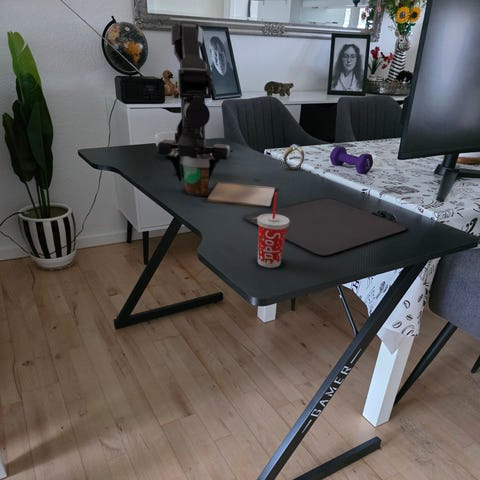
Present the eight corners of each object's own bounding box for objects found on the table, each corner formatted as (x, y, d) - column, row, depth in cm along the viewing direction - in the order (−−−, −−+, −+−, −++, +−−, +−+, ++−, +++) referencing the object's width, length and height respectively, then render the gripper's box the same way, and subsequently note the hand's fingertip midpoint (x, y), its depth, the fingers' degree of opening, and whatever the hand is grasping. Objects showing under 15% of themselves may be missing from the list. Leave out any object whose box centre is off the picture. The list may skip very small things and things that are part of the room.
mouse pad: (327, 198, 127) (328, 197, 127) (409, 228, 110) (409, 228, 110) (241, 217, 110) (241, 216, 110) (322, 257, 93) (322, 256, 92)
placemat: (206, 201, 119) (206, 199, 119) (218, 183, 134) (218, 181, 133) (269, 207, 118) (269, 205, 118) (274, 189, 132) (275, 187, 132)
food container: (176, 186, 129) (173, 149, 124) (196, 184, 131) (195, 148, 126) (188, 199, 120) (186, 161, 114) (210, 197, 122) (209, 159, 116)
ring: (284, 170, 151) (286, 145, 147) (281, 167, 154) (284, 143, 149) (303, 170, 152) (307, 146, 148) (301, 168, 155) (304, 143, 151)
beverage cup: (249, 264, 88) (254, 194, 80) (260, 253, 93) (266, 186, 85) (278, 272, 86) (286, 200, 79) (288, 260, 91) (297, 191, 83)
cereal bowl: (146, 158, 154) (145, 136, 151) (171, 149, 167) (170, 129, 164) (190, 165, 149) (190, 143, 145) (212, 156, 162) (212, 135, 159)
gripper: (149, 122, 109) (152, 187, 118) (224, 129, 108) (222, 193, 116) (162, 116, 119) (164, 176, 127) (231, 122, 117) (229, 182, 125)
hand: (194, 182), depth 124 cm, fingers closed on food container, 7 cm apart
